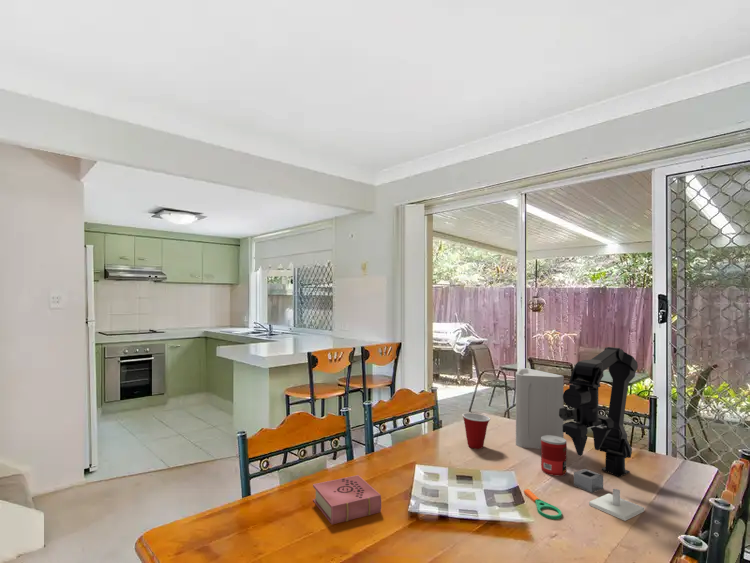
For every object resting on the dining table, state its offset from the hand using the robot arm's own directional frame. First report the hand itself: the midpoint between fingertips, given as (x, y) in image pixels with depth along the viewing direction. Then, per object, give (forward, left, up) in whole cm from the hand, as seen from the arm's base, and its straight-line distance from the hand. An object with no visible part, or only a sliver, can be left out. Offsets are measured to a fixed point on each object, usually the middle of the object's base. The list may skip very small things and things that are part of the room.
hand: (588, 452), depth 136 cm
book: (+71, -28, -11) cm, 77 cm away
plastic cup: (+4, -44, -11) cm, 46 cm away
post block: (+6, +12, -11) cm, 17 cm away
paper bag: (-18, -35, -11) cm, 41 cm away
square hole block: (0, 0, -11) cm, 11 cm away
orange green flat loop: (+23, 0, -11) cm, 26 cm away
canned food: (-1, -13, -11) cm, 17 cm away
